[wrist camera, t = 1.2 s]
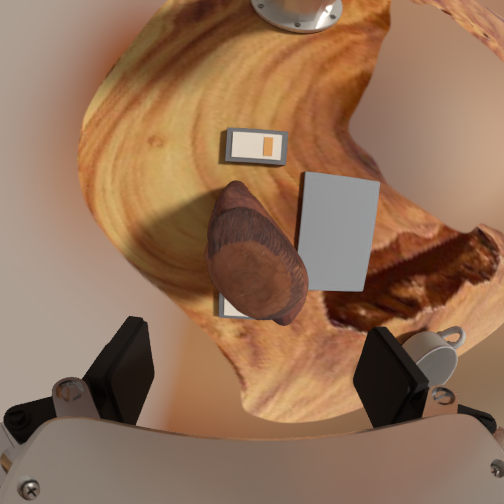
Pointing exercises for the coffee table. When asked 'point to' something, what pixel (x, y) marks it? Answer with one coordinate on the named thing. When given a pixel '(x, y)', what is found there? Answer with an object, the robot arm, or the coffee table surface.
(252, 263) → the wooden figurine
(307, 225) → the mat
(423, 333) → the teacup
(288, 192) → the coffee table surface
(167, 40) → the coffee table surface
